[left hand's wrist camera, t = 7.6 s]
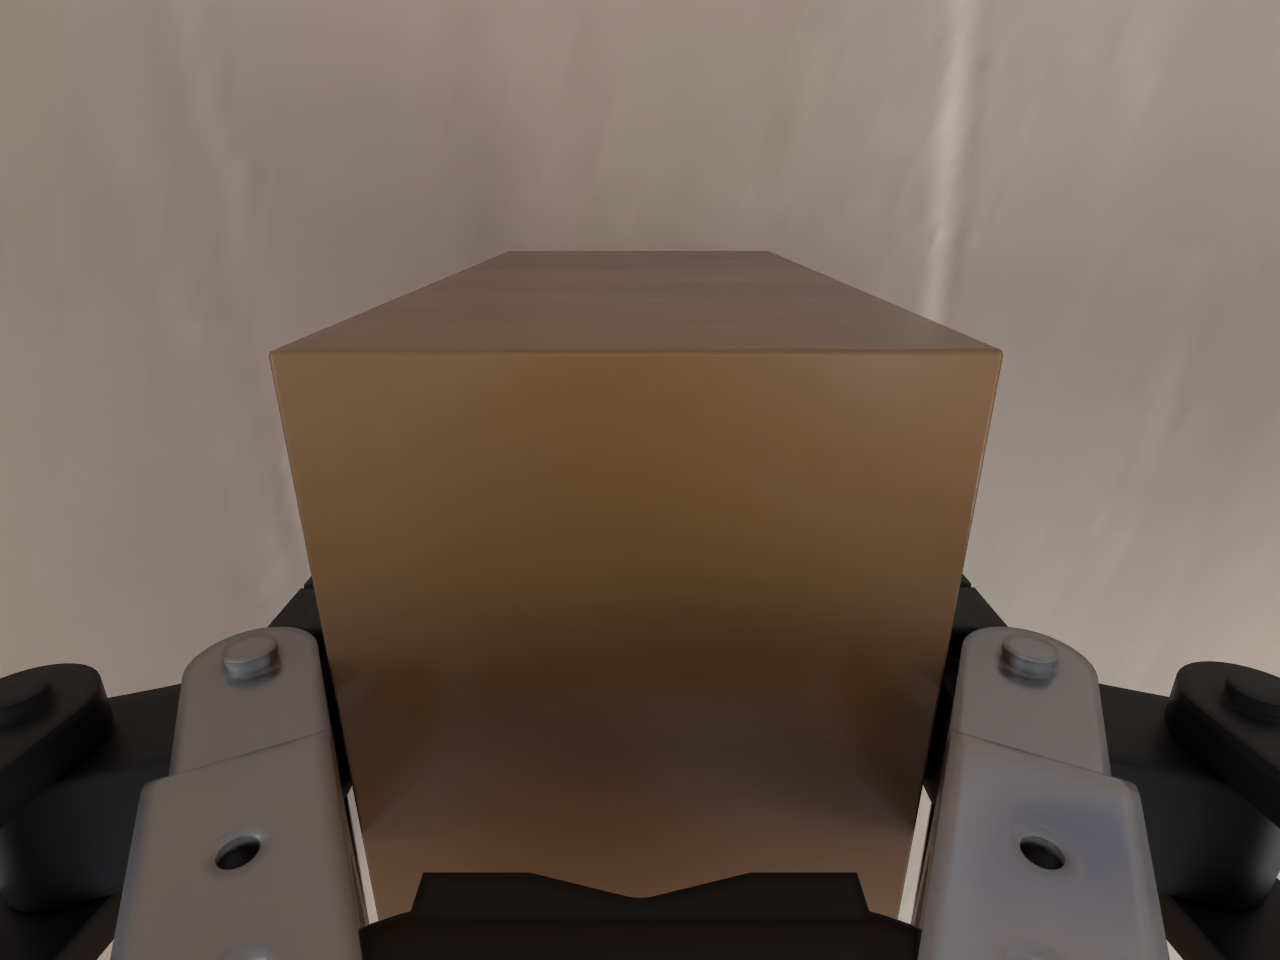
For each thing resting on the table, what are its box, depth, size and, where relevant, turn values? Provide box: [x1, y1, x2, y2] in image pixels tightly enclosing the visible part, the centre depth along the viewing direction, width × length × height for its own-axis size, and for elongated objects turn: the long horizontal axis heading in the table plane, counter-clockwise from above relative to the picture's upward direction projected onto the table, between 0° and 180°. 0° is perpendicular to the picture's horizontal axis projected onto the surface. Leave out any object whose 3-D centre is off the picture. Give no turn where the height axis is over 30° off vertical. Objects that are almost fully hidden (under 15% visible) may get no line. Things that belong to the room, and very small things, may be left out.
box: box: [269, 251, 1003, 921], centre depth 16 cm, size 27×6×12 cm, turn 0°
